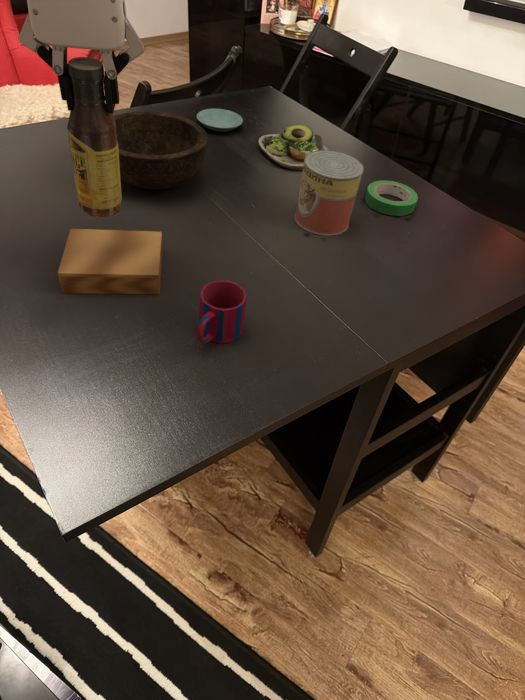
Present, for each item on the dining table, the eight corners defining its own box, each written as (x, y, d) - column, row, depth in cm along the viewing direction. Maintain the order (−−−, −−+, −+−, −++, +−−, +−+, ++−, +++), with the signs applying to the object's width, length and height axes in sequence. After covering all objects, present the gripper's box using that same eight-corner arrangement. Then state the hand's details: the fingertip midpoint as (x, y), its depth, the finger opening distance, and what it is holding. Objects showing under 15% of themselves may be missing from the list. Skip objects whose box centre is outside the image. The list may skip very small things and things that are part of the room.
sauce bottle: (76, 199, 72) (52, 50, 58) (118, 195, 75) (105, 52, 60) (83, 222, 68) (60, 70, 54) (127, 218, 71) (116, 70, 56)
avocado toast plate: (350, 171, 114) (355, 152, 111) (283, 179, 108) (286, 159, 105) (312, 137, 126) (315, 118, 123) (250, 142, 120) (251, 123, 116)
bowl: (185, 152, 112) (185, 108, 105) (222, 199, 99) (224, 152, 92) (90, 163, 104) (83, 115, 97) (117, 215, 91) (111, 164, 84)
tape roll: (355, 192, 107) (358, 181, 106) (396, 188, 111) (399, 177, 109) (381, 219, 101) (385, 208, 99) (423, 213, 104) (428, 202, 102)
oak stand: (62, 293, 75) (57, 273, 72) (74, 248, 83) (70, 228, 80) (160, 294, 77) (158, 275, 74) (162, 250, 85) (161, 231, 82)
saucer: (250, 127, 126) (251, 118, 124) (225, 140, 119) (225, 131, 117) (214, 113, 130) (214, 104, 128) (187, 126, 122) (187, 116, 121)
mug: (251, 325, 74) (255, 292, 70) (213, 364, 68) (215, 330, 63) (216, 307, 76) (218, 273, 72) (176, 343, 70) (175, 308, 65)
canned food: (283, 211, 99) (292, 154, 90) (327, 201, 103) (340, 146, 95) (314, 240, 93) (327, 182, 84) (359, 229, 97) (376, 173, 89)
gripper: (152, -78, 52) (160, 101, 65) (-15, -99, 49) (29, 92, 62) (148, -68, 47) (157, 124, 60) (-38, -91, 44) (15, 115, 57)
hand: (92, 106), depth 61 cm, fingers closed on sauce bottle, 4 cm apart
